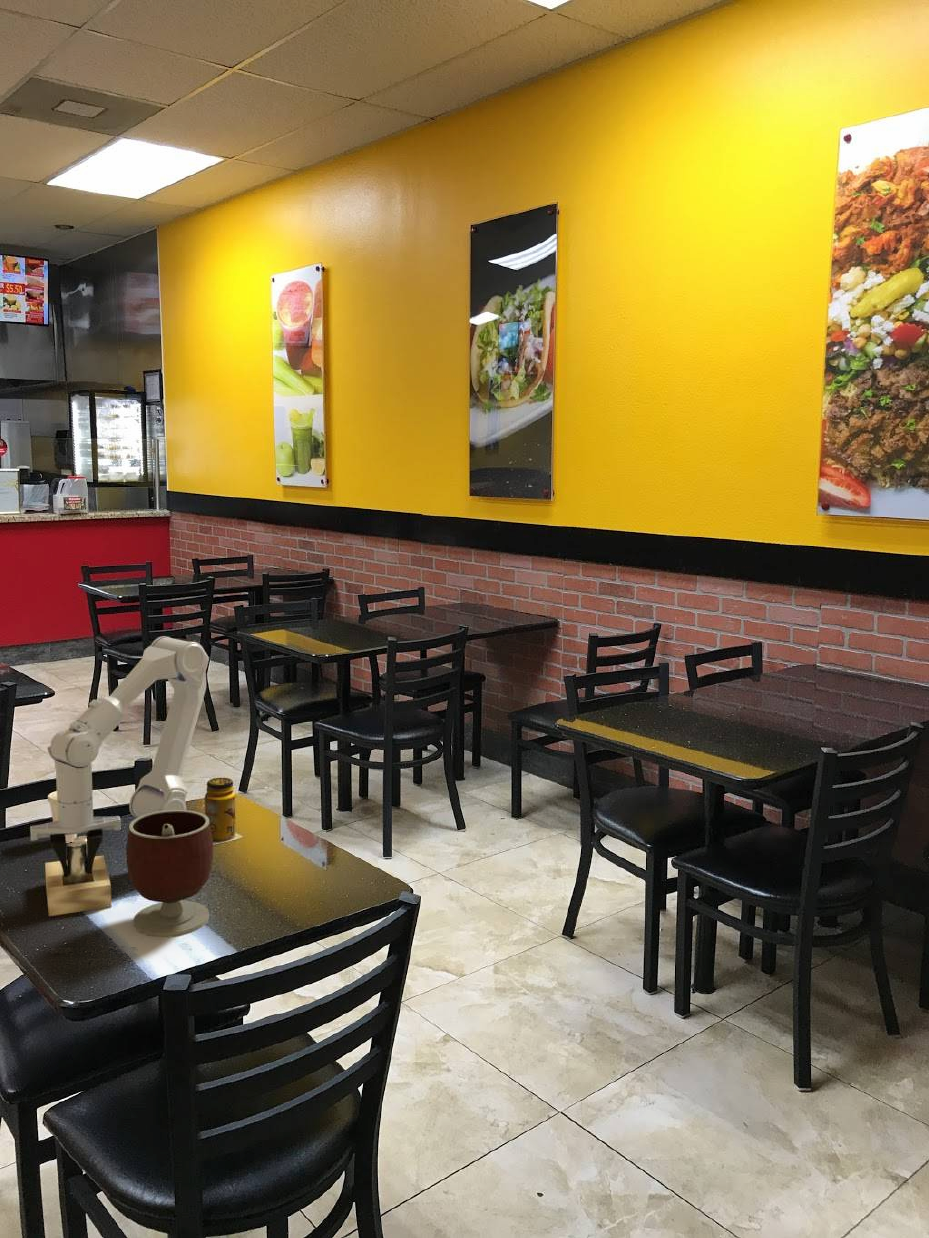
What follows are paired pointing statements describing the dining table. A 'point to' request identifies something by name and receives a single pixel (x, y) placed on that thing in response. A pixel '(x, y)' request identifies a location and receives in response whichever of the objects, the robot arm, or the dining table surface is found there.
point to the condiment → (221, 810)
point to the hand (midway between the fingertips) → (77, 873)
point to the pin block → (77, 889)
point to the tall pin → (77, 863)
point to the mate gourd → (170, 869)
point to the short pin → (81, 839)
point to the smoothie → (54, 809)
